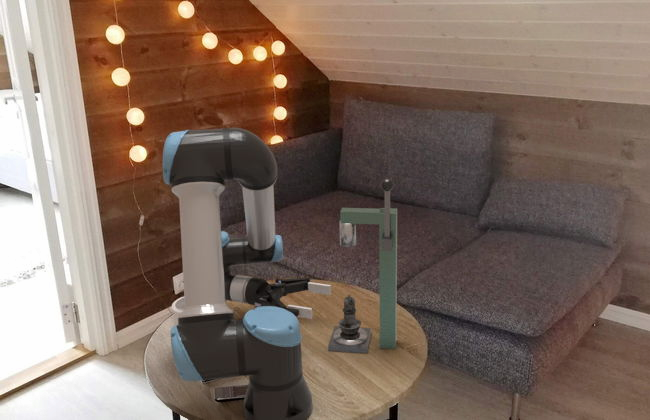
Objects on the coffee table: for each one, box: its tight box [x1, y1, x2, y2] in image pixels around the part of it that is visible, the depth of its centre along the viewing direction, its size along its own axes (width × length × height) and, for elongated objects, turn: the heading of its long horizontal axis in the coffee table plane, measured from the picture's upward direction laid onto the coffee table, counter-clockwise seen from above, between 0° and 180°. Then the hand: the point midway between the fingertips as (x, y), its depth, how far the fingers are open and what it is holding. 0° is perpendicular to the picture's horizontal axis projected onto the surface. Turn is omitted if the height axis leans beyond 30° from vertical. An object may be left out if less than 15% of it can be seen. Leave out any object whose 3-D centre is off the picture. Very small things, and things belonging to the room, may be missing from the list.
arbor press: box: [327, 178, 398, 354], centre depth 144 cm, size 10×17×46 cm, turn 79°
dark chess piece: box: [338, 293, 362, 340], centre depth 150 cm, size 6×6×12 cm
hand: (321, 301), depth 152 cm, fingers open, 13 cm apart
